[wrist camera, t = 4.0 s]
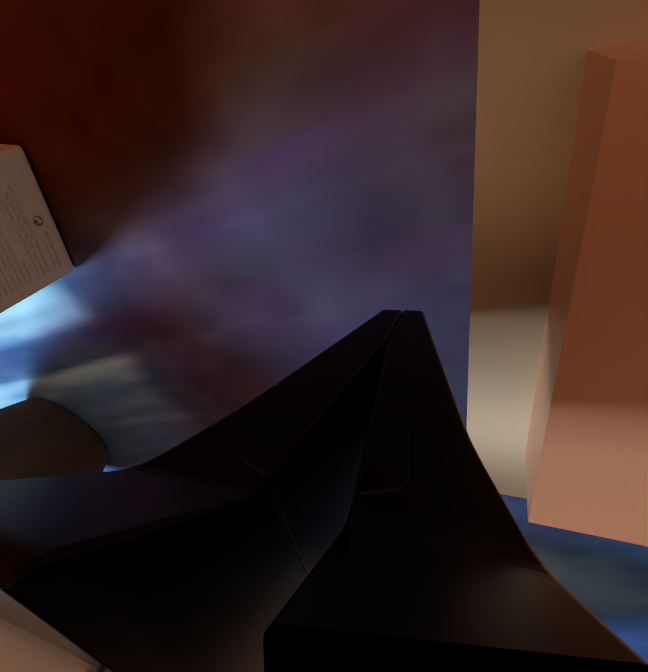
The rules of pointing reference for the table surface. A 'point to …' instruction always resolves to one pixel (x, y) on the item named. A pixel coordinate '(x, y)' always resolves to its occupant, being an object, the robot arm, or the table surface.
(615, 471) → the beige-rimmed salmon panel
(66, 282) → the table surface
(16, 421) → the plant pot
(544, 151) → the deck
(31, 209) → the small box
